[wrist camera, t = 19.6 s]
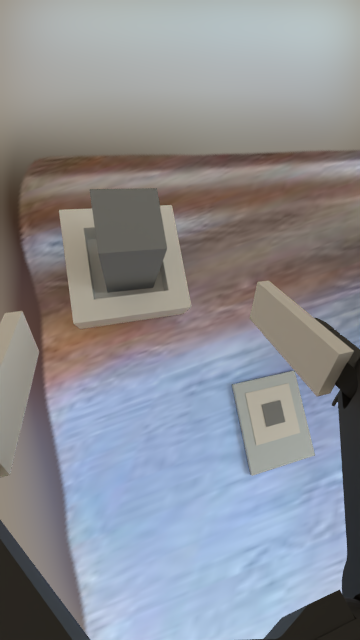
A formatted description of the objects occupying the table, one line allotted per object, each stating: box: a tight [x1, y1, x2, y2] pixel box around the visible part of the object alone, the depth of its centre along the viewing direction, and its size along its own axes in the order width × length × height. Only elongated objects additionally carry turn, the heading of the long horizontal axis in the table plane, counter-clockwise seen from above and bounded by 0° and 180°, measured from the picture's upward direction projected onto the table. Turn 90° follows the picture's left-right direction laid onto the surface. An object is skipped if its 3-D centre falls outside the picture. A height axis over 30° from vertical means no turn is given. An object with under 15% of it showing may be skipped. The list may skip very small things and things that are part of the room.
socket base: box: [59, 205, 191, 329], centre depth 33 cm, size 14×14×4 cm
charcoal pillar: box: [90, 188, 167, 293], centre depth 28 cm, size 6×6×12 cm
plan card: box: [232, 371, 315, 476], centre depth 36 cm, size 10×12×1 cm
